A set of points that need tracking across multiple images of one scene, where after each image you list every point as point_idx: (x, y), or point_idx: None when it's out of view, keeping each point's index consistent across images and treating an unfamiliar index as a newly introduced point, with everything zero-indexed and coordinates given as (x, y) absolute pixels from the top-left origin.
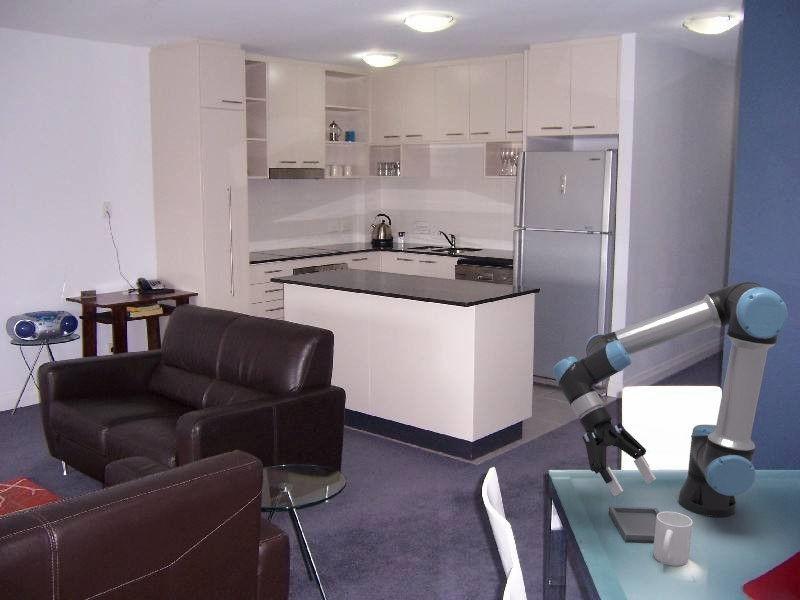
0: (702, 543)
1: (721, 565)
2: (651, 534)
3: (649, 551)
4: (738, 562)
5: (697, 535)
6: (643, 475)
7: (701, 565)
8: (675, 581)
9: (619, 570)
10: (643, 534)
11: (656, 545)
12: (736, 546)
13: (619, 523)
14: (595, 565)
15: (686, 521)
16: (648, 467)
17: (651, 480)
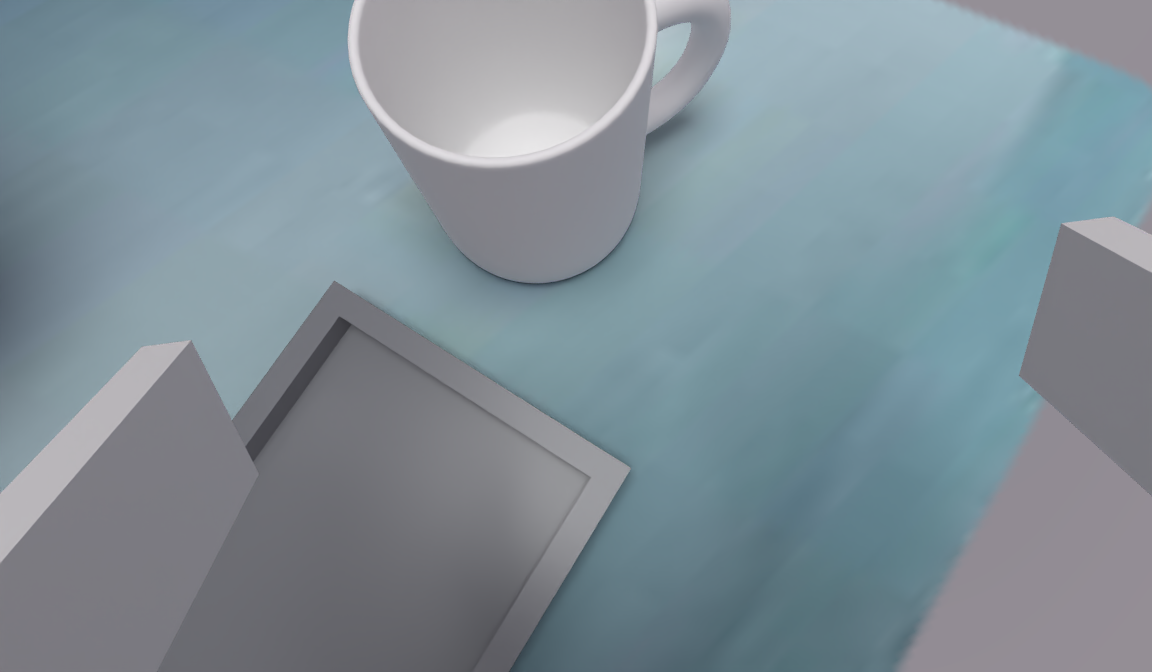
0: (209, 234)
1: None
2: (460, 385)
3: (581, 308)
4: (249, 14)
5: (136, 318)
6: (190, 563)
7: None
8: None
9: (928, 227)
10: (511, 411)
11: (638, 181)
12: (82, 127)
13: (526, 636)
14: None
15: (377, 39)
16: (5, 510)
17: (211, 397)
